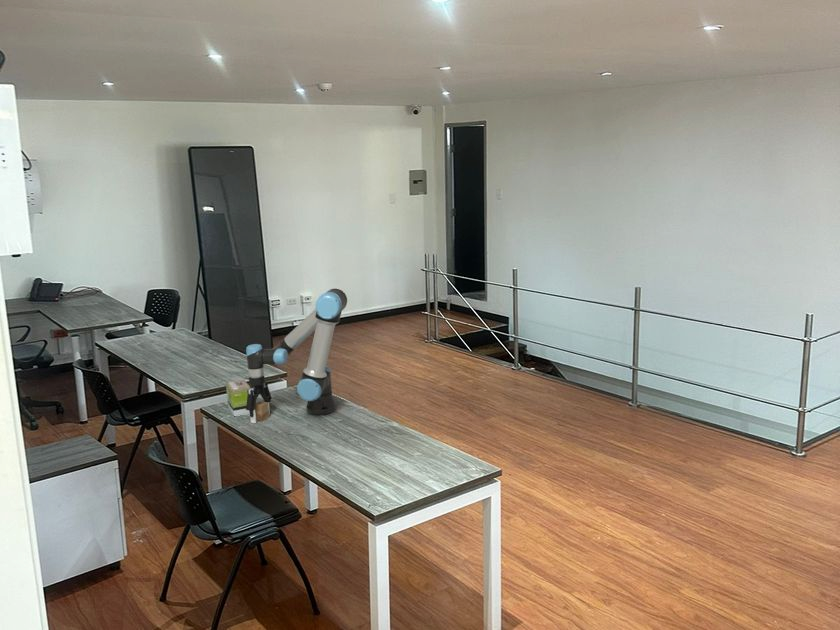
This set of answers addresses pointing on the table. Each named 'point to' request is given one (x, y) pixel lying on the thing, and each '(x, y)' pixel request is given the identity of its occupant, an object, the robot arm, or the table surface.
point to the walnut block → (261, 411)
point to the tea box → (237, 397)
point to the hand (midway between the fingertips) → (260, 418)
